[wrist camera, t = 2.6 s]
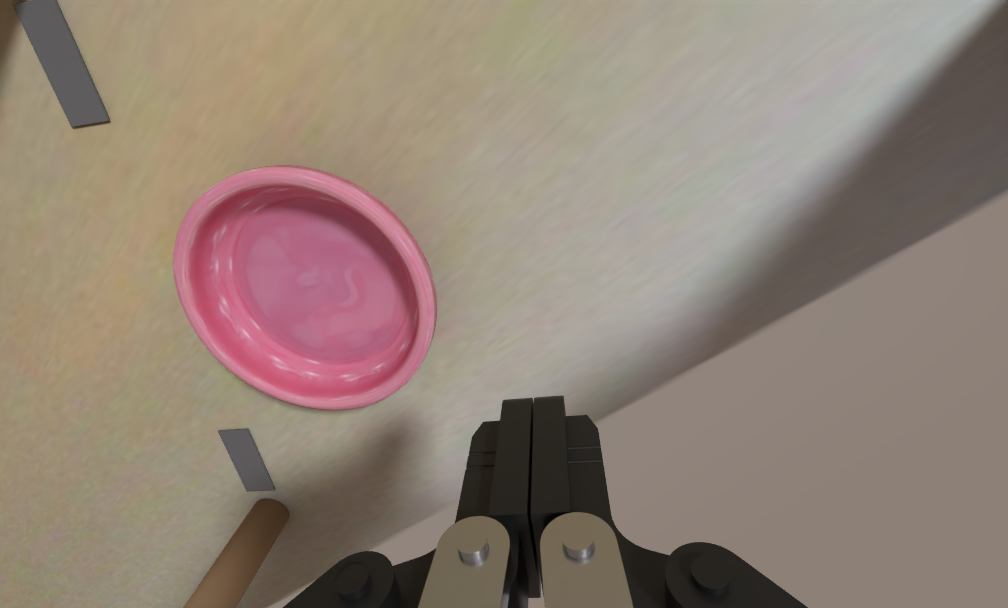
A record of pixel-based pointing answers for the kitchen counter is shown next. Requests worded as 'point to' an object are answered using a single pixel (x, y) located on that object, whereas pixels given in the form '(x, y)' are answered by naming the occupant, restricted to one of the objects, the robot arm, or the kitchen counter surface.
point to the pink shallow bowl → (305, 287)
